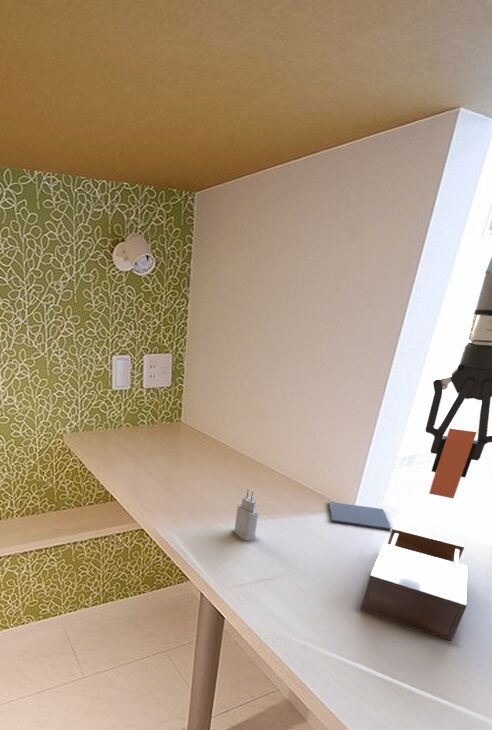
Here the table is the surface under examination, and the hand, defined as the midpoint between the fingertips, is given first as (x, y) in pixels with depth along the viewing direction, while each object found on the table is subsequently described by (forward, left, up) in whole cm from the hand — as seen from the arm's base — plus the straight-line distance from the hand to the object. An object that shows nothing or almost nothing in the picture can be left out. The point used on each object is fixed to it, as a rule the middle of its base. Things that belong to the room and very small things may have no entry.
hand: (448, 472), depth 84 cm
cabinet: (+4, +13, -23) cm, 27 cm away
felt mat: (+9, -25, -23) cm, 35 cm away
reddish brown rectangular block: (0, 0, -4) cm, 4 cm away
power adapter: (+37, -4, -23) cm, 43 cm away
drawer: (0, 0, -22) cm, 22 cm away
